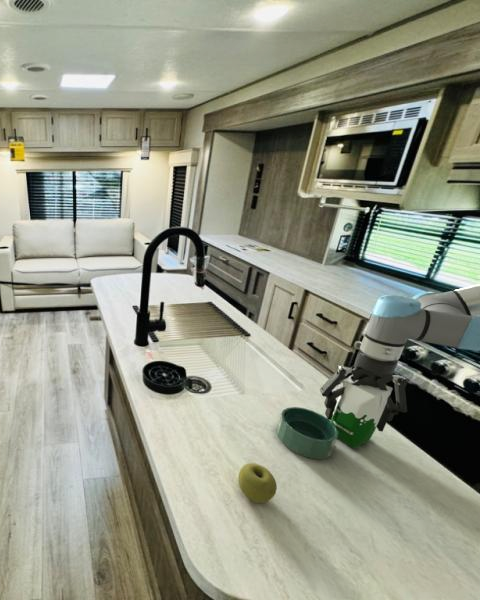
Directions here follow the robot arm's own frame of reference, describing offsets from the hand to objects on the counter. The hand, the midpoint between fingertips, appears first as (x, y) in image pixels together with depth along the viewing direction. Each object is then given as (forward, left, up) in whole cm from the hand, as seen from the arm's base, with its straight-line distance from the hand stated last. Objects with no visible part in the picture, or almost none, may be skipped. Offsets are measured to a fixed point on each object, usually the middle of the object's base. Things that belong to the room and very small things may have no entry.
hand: (352, 422), depth 87 cm
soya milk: (0, 0, -5) cm, 5 cm away
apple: (+26, +30, -5) cm, 40 cm away
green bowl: (+12, +7, -5) cm, 15 cm away
